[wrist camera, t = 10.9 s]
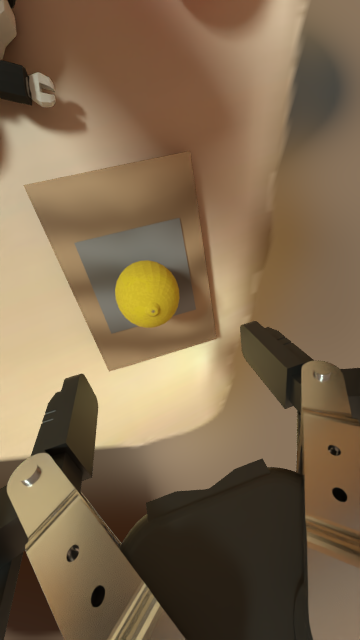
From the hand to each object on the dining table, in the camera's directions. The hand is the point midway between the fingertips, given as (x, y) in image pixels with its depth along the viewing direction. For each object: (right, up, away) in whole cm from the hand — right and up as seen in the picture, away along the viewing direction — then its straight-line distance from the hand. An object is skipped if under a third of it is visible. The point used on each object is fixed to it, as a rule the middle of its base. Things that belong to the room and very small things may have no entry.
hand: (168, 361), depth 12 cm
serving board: (-4, +7, +14) cm, 16 cm away
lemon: (-3, +6, +12) cm, 14 cm away
